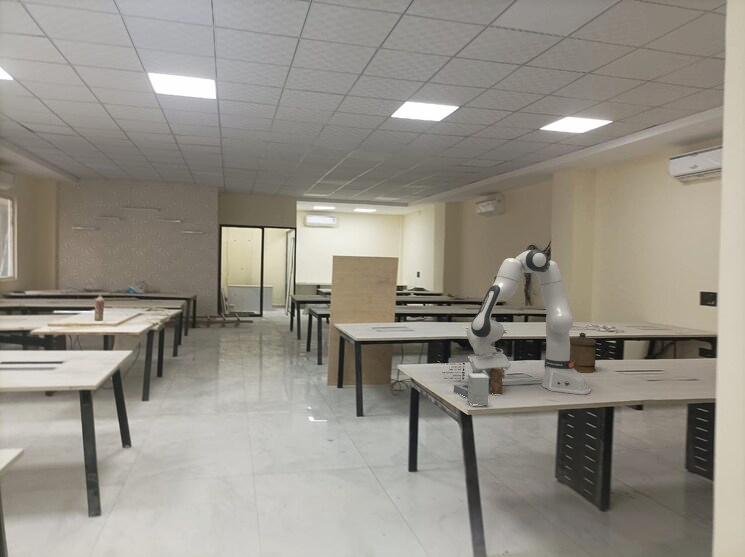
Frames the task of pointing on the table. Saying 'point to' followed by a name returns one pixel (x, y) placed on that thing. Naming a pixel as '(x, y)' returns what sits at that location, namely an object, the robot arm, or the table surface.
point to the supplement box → (478, 388)
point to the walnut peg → (496, 380)
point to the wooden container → (583, 353)
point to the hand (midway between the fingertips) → (496, 378)
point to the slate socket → (461, 389)
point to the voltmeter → (464, 372)
